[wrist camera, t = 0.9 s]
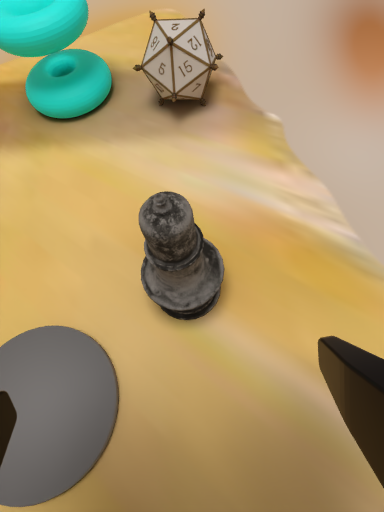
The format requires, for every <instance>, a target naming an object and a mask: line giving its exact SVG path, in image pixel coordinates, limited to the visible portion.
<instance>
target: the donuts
mask: <svg viewBox="0 0 384 512" xmlns="http://www.w3.org/2000/svg"><path fill="white" fill-rule="evenodd" d="M87 20H88V5H87V2H86V0H0V49H2V50H4V51H6V52H8V53H10V54H13V55H17V56H22V57H39V56H45V55H48V56H46V57H45V58H43V59H42V60H40V61H39V62H38V63H37V64H36V65H35V66H34V67H33V68H32V69H31V71H30V73H29V75H28V77H27V80H26V95H27V97H28V100H29V102H30V103H31V105H32V106H33V107H34V108H35V109H36V110H37V111H39V112H40V113H42V114H44V115H46V116H49V117H53V118H72V117H77V116H80V115H83V114H85V113H88V112H90V111H91V110H93V109H95V108H96V107H97V106H99V105H100V104H101V103H102V102H103V101H104V100H105V98H106V97H107V95H108V94H109V92H110V89H111V84H112V77H111V72H110V69H109V67H108V66H107V64H106V63H105V62H104V60H103V59H102V58H100V57H99V56H97V55H96V54H94V53H92V52H89V51H86V50H81V49H68V50H62V49H64V48H66V47H67V46H69V45H70V44H72V43H73V42H74V41H75V40H76V39H77V38H78V37H79V36H80V35H81V33H82V32H83V30H84V28H85V26H86V24H87ZM60 50H62V51H60ZM49 54H50V55H49Z"/></svg>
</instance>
